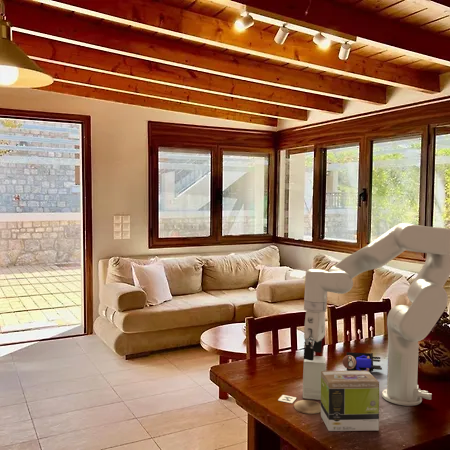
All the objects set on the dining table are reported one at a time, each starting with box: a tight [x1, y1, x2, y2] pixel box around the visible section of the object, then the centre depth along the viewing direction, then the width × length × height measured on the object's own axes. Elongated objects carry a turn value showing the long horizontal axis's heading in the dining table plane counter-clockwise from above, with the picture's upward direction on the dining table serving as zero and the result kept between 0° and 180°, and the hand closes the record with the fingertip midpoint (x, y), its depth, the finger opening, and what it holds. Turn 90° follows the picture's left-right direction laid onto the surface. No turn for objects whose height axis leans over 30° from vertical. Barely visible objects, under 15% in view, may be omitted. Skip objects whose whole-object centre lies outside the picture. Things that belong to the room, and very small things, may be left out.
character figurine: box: [342, 351, 383, 372], centre depth 187 cm, size 8×7×15 cm
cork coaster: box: [293, 399, 321, 415], centre depth 154 cm, size 9×9×1 cm
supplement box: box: [302, 355, 327, 401], centre depth 163 cm, size 7×7×13 cm
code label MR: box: [277, 394, 298, 404], centre depth 160 cm, size 5×5×1 cm
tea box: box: [320, 370, 380, 432], centre depth 142 cm, size 15×10×15 cm, turn 92°
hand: (312, 355), depth 162 cm, fingers open, 9 cm apart
